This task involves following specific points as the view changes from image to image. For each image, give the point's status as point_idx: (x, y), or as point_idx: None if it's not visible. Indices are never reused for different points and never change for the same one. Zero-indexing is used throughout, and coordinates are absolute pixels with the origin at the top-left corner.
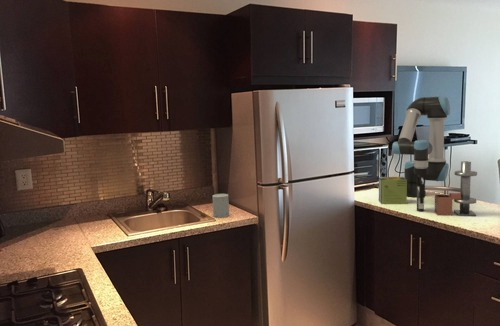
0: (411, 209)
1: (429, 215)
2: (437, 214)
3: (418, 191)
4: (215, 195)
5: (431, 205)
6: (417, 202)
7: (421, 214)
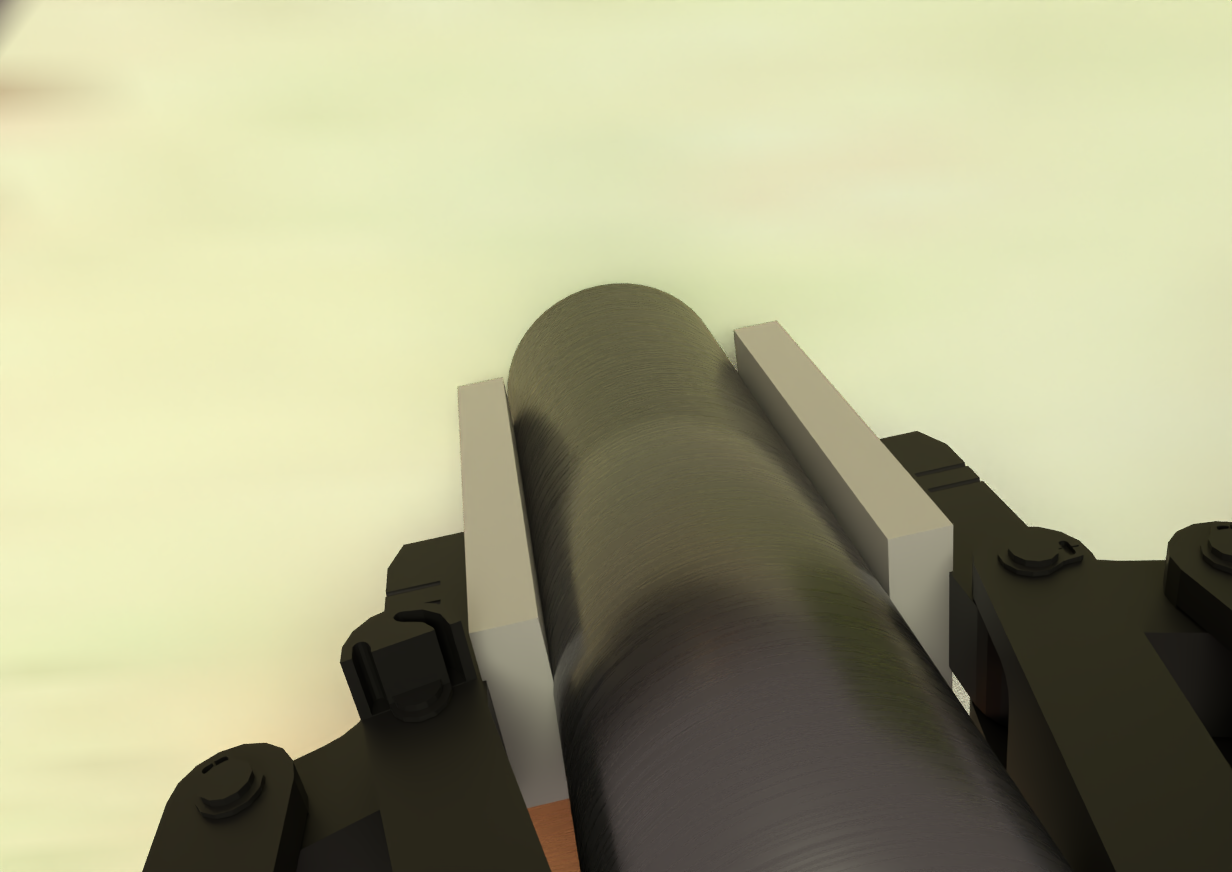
0: (729, 114)
1: (113, 631)
2: None
3: (643, 857)
4: None
5: None
6: (581, 431)
7: (139, 438)
